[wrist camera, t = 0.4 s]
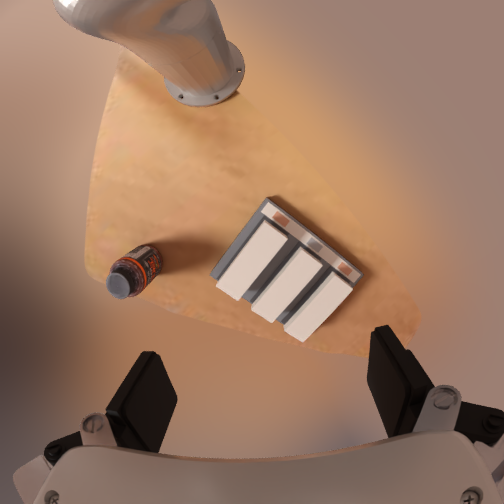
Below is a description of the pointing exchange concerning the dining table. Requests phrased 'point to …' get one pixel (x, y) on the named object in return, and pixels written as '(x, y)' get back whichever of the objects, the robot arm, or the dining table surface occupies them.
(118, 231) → the dining table surface
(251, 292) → the switch board
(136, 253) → the supplement bottle
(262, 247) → the switch
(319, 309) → the switch
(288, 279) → the middle switch
